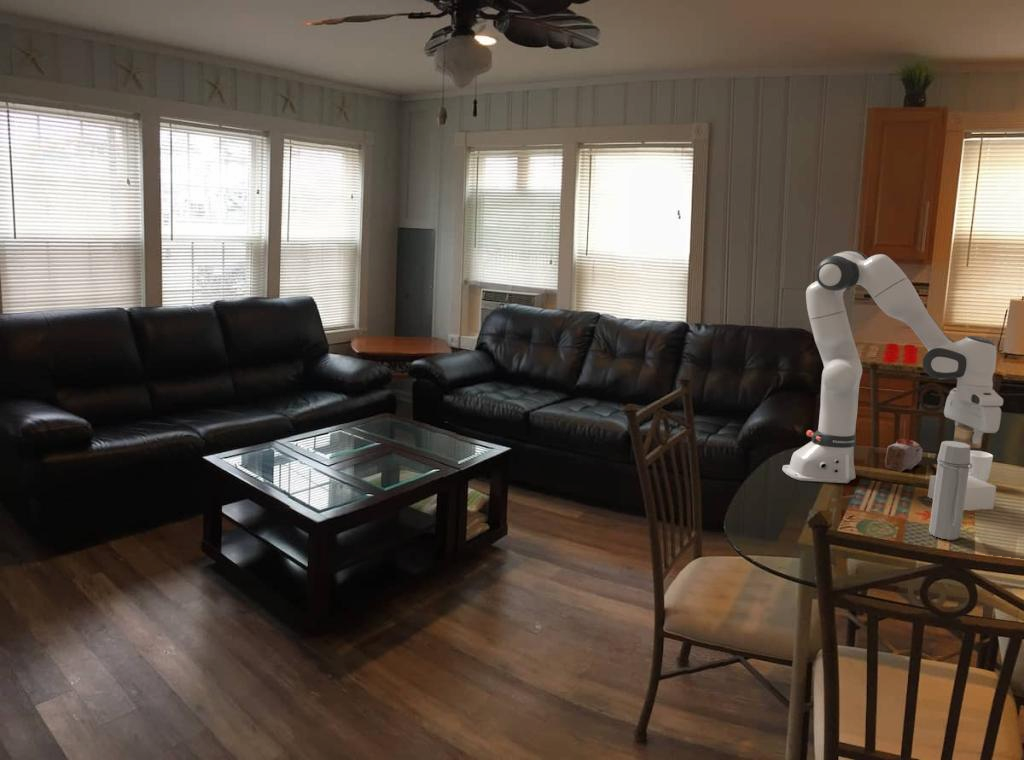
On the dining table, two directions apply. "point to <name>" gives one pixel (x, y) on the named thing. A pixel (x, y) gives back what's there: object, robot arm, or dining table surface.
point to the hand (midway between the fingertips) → (967, 440)
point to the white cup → (980, 465)
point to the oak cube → (966, 436)
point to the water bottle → (950, 490)
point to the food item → (903, 455)
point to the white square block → (972, 493)
